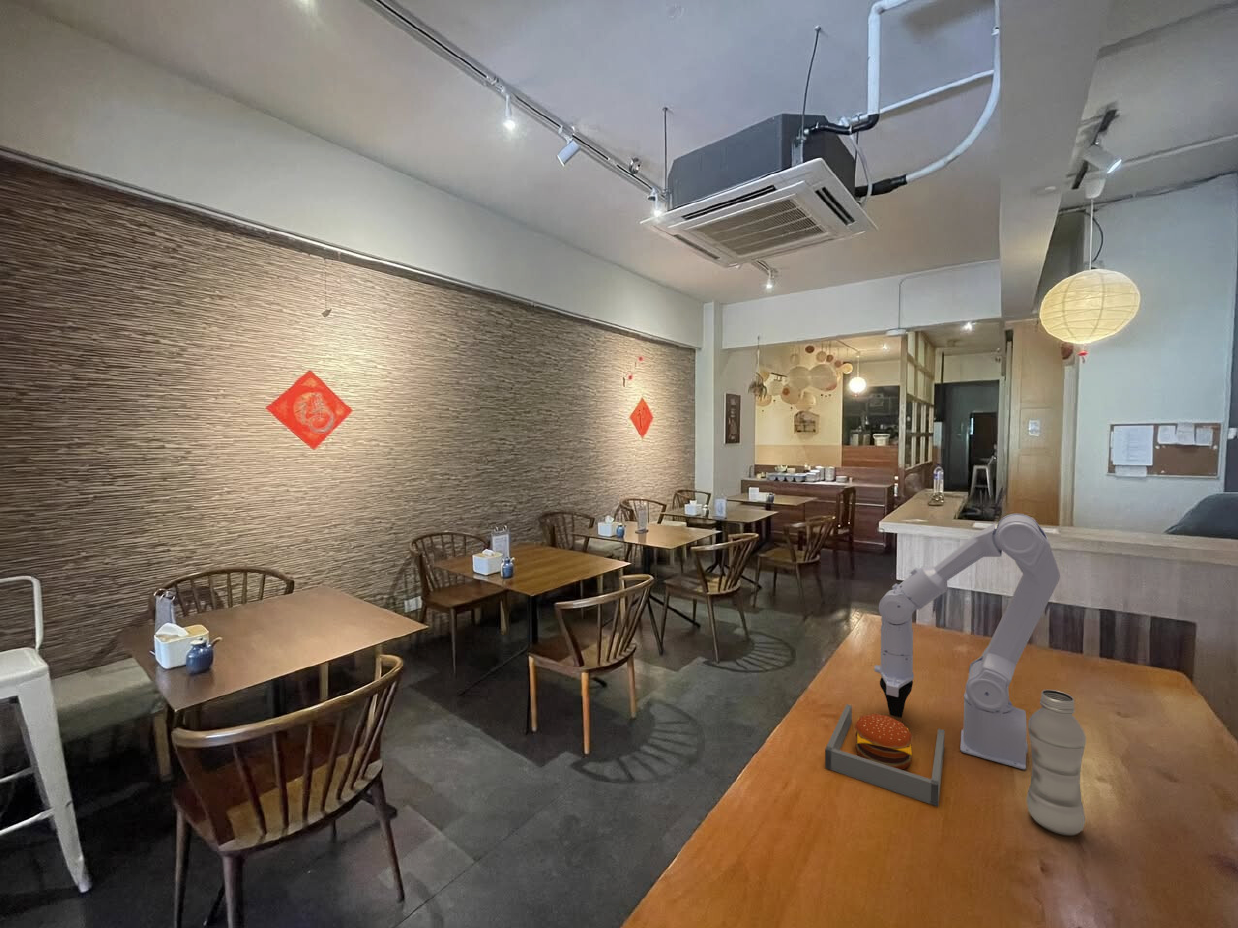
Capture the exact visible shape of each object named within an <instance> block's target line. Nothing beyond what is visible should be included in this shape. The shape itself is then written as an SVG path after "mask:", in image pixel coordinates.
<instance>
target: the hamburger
mask: <svg viewBox="0 0 1238 928" xmlns="http://www.w3.org/2000/svg"><path fill="white" fill-rule="evenodd" d="M854 729H855V737H856V742H855V749H856V751H857V756H859V757H862V758H865V759H869V760H872V761H875V762H878V763H881V764H884V765H887V766H891V767H894V768H897V769H900V770H903V771H904V770H905V769H907V768H908V767H910V765H911V761H912V757H913V751H912V741H913V739H914V737H913V735H912V733H911V732H910V731H909V728H908V727H906V726H905V725H904V723H903V722H902V721H899V720H897V719H895V718H893V717H891V716H890V715H889V716H888V715H883V714H878V713H873V714H866V715H862V716H860V717H858V718H857V721H856V723H855V724H854Z"/></svg>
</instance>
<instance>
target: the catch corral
mask: <svg viewBox="0 0 1238 928" xmlns="http://www.w3.org/2000/svg"><path fill="white" fill-rule="evenodd" d="M852 723H853V706H852V705H851V704H848V703H846V704H845V707H844V709H843V711H842V713H841V715H840V717H839V719H838V721H837V724H836V726H835V727H834V730H833V731H832V734H831V736H830V738H829V740H828V742H827V744H826V747H825V748H824V753H825V754H824V763H825V764H824V766H825V767H824V768H825V769H827V770H828V771H829V770H830V771H833V772H834V773H835V772H836V773H839V774H842V775H844V776H847V777H851V778H853V779H856V780H858V781H862V782H865V783H867V784H871V785H873V786H876V787H879V788H883V789H886V790H888V791H891V792H895V793H897V794H900V795H903V796H905V797H908V798H911V799H915V800H918V801H920V802H923V803H927V804H929V805H932V806H934V807H939V802H940V791H941V782H942V773H943V765H944V763H943V762H944V756H945V753H944V752H945V729H941V728H937V735H936V743H935V751H934V758H933V765H932V773H931V778H929V777H926V776H925V777H924V776H922V775H918V774H915V773H913V772H912V773H911V772H909V771H906V770H904V769H903V770H900V769H897V768H894V767H891V766H887V765H884V764H881V763H878V762H875V761H872V760H869V759H865V758H862V757H860V756H859V755H856V754H852V753H850V752H846V751H843V750H841V747H842V745H843V744H844V742H845V739H846V736H847V734H848V732H849V729H850V726H851V725H852Z"/></svg>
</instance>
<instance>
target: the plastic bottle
mask: <svg viewBox="0 0 1238 928" xmlns="http://www.w3.org/2000/svg"><path fill="white" fill-rule="evenodd" d="M1040 696H1041V697H1040V700H1039V704H1040V706H1041V707H1040V708H1039V709H1037V710H1036V711H1035V712H1034V713H1033V714H1031V715H1030V717H1029V719H1028V721H1027V729H1028V735H1029V739H1030V747H1031V748H1030V749H1031V758H1032V759H1031V763H1032V764H1031V765H1032V769H1031V778H1030V785H1029V787H1028V791H1027V793H1026V794H1027V795H1026V805H1027V809H1028V812H1029V815H1030V816H1031V817H1032V818H1033V820H1034V821H1035V822H1036V823H1037V824H1038V825H1040V826H1041V827H1043V828H1045V829H1046V830H1048V831H1050V832H1053V833H1055V834H1059V835H1063V836H1070V837H1071V836H1075V835H1078V834H1079V833H1080V832H1082V831H1083V830H1084V826H1085V824H1086V823H1085V822H1086V816H1085V810H1084V805H1083V801H1082V793H1081V792H1082V791H1081V781H1080V780H1081V768H1082V761H1083V756H1084V753H1085V749H1086V748H1085V747H1086V742H1087V741H1086V740H1087V737H1086V734H1085V730H1084V729H1083V727H1082V726H1081V724H1080V723H1079V721H1078V720H1077V719H1076V717H1075V716H1074V715H1073V714H1075V711H1076V708H1075V698H1074V697H1073V696H1072V695H1070V694H1068V693H1066V692H1063V691H1059V690H1056V689H1043V690H1041V693H1040Z"/></svg>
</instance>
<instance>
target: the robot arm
mask: <svg viewBox="0 0 1238 928" xmlns="http://www.w3.org/2000/svg"><path fill="white" fill-rule="evenodd" d="M1047 535H1048V534H1047V533H1046V532H1045V530H1043V528H1042V527H1041V526H1040V525H1039V523H1038V522H1037V521H1036V520H1035V519H1034V518H1033V517H1031V516H1030V515H1026V514H1023V513H1010V514H1008V515H1005V516H1004V517H1002V518H1001V519H1000V520H999V521H998V523H997V525H996V522H994V523H992V524H990V525H988V526H987V527H985V528H983V529H982V530H980V531H979V532H977V533H975V534H974V535H973V536H971V537H970V538H969V539H968V540H967V541H966V542H964V543H962V545H961V546H959V547H958V548H957V549H955V550H954V551H953V552H952V553H950V554H949V555H947V556H946V557H945V558H944V559H943V560H942V561H940V562H938V564H936V565H935V566H922V567H920V568H918V567H915V568H913V569H912V570H911V571H910V573H909V574H911V575H909V576H908V577H907V578H905V579H904V580H903V581H901V583H899V584H898V583H895V584H893V585H892V587H891V588H892V589H891V590H888V591H887V592H886V593H885V594H884V596H882V598H881V599H880V601H879V604H878V613H879V614H880V616H881V624H880V665H878V664H876V665H874V669H873V670H874V672H875V673H879V674H880V677H881V678H880V680H879V686H880V688H881V690H882V692H883V694H884V696H885V699H886V703H887V708H888V713H889V716H890V717H891V716H892V717H895V718H900V719H902V717H903V714H904V709H905V706H906V701H907V698H908V697H909V696H910V693H912V689H913V685H914V681H913V680H914V676H915V674H914V670H913V669H914V662H913V661H914V658H913V657H914V654H913V653H914V630H913V614H914V612H915V611H918V610H919V611H920V610H922V609H923V608H925V607H926V606H927V605H928V604H930V603H931V602H933V601H934V600H935V599H937V598H939V597H940V596H941V595H943V594H945V593H946V592H947V591H948V581H949V580H950V579H952V578H953V577H955V576H957V575H958V574H960V573H961V572H963V571H964V570H966V569H967V568H969V567H970V566H972V565H973V564H974V563H976V562H978V561H979V560H981V559H983V558H984V557H985V558H995V557H996V558H999V557H1002V554H1003V553H1004V554H1006V556H1008V557H1009V558H1011V559H1012V560H1013V561H1014V562H1015V564H1016V565H1017V568H1019V570H1020V572H1021V573H1022V575H1021V578H1020V579H1019V582H1018V584H1017V586H1016V587H1015V590H1014V592H1013V594H1012V596H1011V598H1010V601H1009V602H1008V604H1007V607H1006V609H1005V611H1004V612H1003V614H1002V617H1001V619H1000V621H999V623H998V625H997V627H996V629H995V631H994V633H993V635H992V636H991V637H992V638H991V639H990V641H989V644H988V645H987V646H986V648H985V649H984V651H983V652H982V655H981V656H980V657H979V658H977V659H974V661H972V662H971V663H970V665H969V667H968V677H967V682H966V684H965V692H964V694H963V729H961V730H960V732H961V733H960V749H959V750H960V752H961V753H963V754H967V755H970V756H974V757H978V758H981V759H984V760H988V761H992V762H995V763H999V764H1002V765H1006V766H1009V767H1014V768H1018V769H1020V770H1026V769H1027V753H1028V751H1029V750H1028V749H1029V747H1028V745H1029V744H1028V742H1027V736H1028V735H1027V733H1028V732H1027V729H1028V726H1027V714H1026V713H1027V712H1026V710H1024V709H1022V708H1019V707H1015V706H1014V705H1013V703H1012V701H1010V695H1009V688H1010V687H1009V686H1010V684H1011V683H1012V680H1013V676H1014V673H1015V671H1016V670H1015V669H1016V666H1017V664H1018V663H1019V660H1020V658H1021V656H1022V654H1023V653H1024V650H1025V648H1026V647H1027V645H1028V643H1029V640H1030V638H1031V637H1032V635H1033V632H1034V631H1035V629H1036V627H1037V624H1038V623H1039V621H1040V619H1041V617H1042V615H1043V613H1044V611H1045V609H1046V607H1047V605H1048V603H1049V601H1050V599H1051V597H1052V595H1053V593H1054V591H1055V590H1056V588H1057V586H1058V584H1059V582H1060V578H1061V573H1060V570H1059V566H1058V563H1057V562H1056V558H1055V556H1054V552H1053V550H1052V547H1051V543H1050V540H1049V538H1048V536H1047Z"/></svg>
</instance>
